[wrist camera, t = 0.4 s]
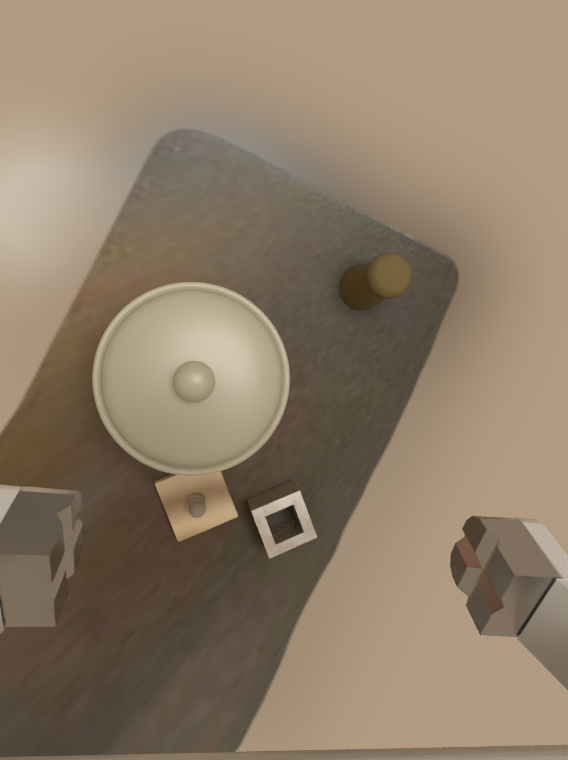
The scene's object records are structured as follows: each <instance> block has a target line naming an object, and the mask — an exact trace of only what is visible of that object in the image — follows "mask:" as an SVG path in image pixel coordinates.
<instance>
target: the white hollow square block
mask: <svg viewBox="0 0 568 760" xmlns="http://www.w3.org/2000/svg"><path fill="white" fill-rule="evenodd" d="M247 501H248V504H249V506H250V509H251V512H252V515H253V517H254V520H255V522H256V525H257V528H258V530H259V533H260V535H261V538H262V541H263V543H264V546H265V548H266V551H267V554H268V556H269V559H270V558H272V557H274V556H277V555H279V554H281V553H283V552H285V551H288V550H290V549H292V548H294V547H297V546H299V545H301V544H303V543H306V542H308V541H310V540H312V539H315V538H317V535H316V533H315V530H314V527H313V525H312V522H311V519H310V517H309V514H308V511H307V509H306V506H305V503H304V500H303V498H302V495H301V492H300V490H299V489H298V488H297V486H296V485H295V484H294V482H293V481H292V480H291V481H289V482H287V483H284V484H282V485H279V486H277V487H275V488H272V489H270V490H268V491H265V492H263V493H260V494H258V495H256V496H253V497H251V498H249V499H247ZM289 506H291V507H292V510H293V513H294V515H295V518H296V519H294V520H292V521H290V522H287V523H285V524H283V525H280V526H278V527H276V528H274V529H271V530H270V529H269V526H268V523H267V521H266V518H265V516H268V515H270V514H272V513H275V512H277V511H279V510H282V509H284V508H286V507H289Z"/></svg>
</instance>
